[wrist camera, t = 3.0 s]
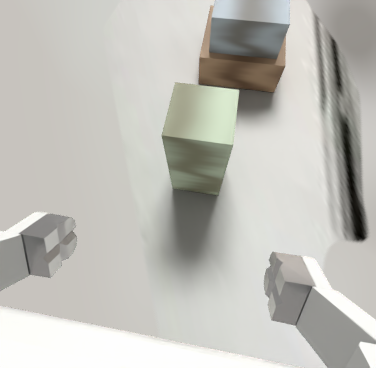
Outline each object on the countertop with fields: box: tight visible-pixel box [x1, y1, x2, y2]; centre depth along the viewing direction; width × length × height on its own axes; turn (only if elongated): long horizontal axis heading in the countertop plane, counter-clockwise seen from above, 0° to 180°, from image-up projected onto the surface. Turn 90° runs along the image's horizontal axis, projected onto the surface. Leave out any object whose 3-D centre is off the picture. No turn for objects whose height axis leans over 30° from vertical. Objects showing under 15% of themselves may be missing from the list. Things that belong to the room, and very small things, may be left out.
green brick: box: [162, 82, 239, 195], centre depth 22 cm, size 5×5×10 cm
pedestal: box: [199, 0, 290, 92], centre depth 29 cm, size 10×10×8 cm
